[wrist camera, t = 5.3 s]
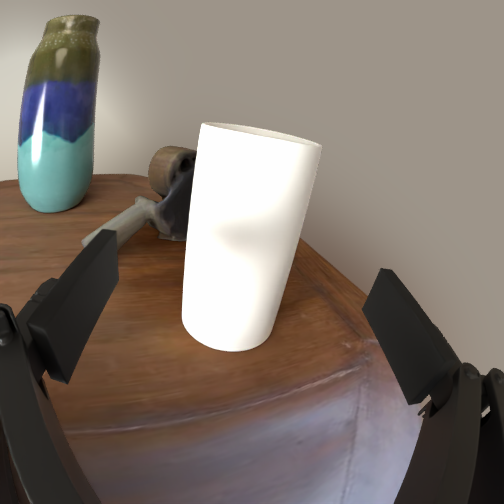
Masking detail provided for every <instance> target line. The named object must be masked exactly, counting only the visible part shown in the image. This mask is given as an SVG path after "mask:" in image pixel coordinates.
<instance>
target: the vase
mask: <svg viewBox="0 0 504 504" xmlns="http://www.w3.org/2000/svg"><path fill="white" fill-rule="evenodd" d="M99 24H100V21H99V20H98V19H96V18H94V17H91V16H86V15H67V16H61V17H57V18H54V19H52V20H50V21H48V22H47V24H46V27H45V30H44V34H43V37H42V40H41V42H40V44H39V45H38V47H37V49H36V50H35V52H34V53H33V55H32V57H31V59H30V63H29V66H28V71H27V75H26V80H25V86H24V92H23V98H22V105H21V113H20V122H19V135H18V157H17V161H18V162H17V163H18V164H17V168H18V180H19V186H20V190H21V193H22V195H23V197H24V199H25V200H26V202H27V203H28V204H29V205H30V207H32V208H33V209H34V210H36V211H38V212H42V213H55V212H61V211H65V210H68V209H70V208H73V207H74V206H76V205H77V204H79V203H80V202H81V200H82V199H83V198H84V196H85V194H86V193H87V191H88V189H89V186H90V183H91V180H92V175H93V162H94V127H95V106H96V93H97V82H98V73H99V64H100V51H99V47H98V43H97V38H96V37H97V33H98V28H99Z"/></svg>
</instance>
